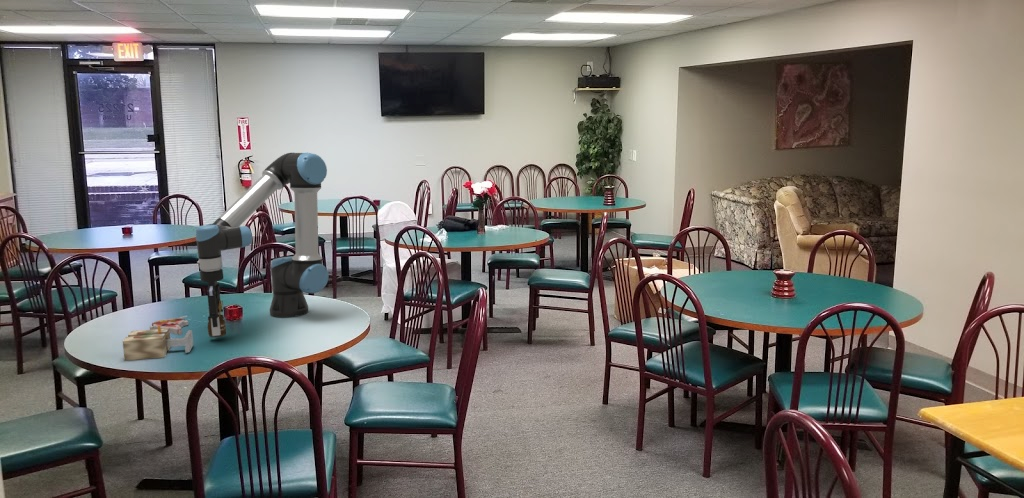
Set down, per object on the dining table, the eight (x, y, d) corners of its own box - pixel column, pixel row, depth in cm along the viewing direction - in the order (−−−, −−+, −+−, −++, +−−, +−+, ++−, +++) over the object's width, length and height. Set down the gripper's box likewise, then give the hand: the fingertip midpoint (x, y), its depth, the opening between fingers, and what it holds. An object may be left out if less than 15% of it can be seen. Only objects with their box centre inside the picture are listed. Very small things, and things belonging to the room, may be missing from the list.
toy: (186, 313, 303) (199, 324, 286) (187, 321, 303) (199, 333, 287) (145, 319, 294) (156, 331, 278) (146, 328, 295) (157, 340, 279)
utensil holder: (204, 336, 274) (201, 304, 272) (218, 332, 279) (214, 299, 277) (217, 338, 271) (214, 305, 269) (230, 333, 277) (227, 300, 275)
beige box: (170, 346, 268) (169, 327, 267) (163, 357, 256) (162, 337, 255) (133, 349, 265) (131, 330, 264) (124, 360, 253) (122, 340, 252)
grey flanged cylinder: (193, 345, 268) (191, 320, 267) (189, 352, 260) (187, 326, 258) (149, 348, 265) (146, 323, 263) (143, 356, 256) (141, 330, 255)
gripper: (203, 265, 279) (209, 326, 283) (195, 275, 261) (202, 341, 265) (225, 263, 281) (231, 324, 285) (219, 273, 263) (225, 339, 267)
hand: (217, 332), depth 275 cm, fingers closed on utensil holder, 6 cm apart
